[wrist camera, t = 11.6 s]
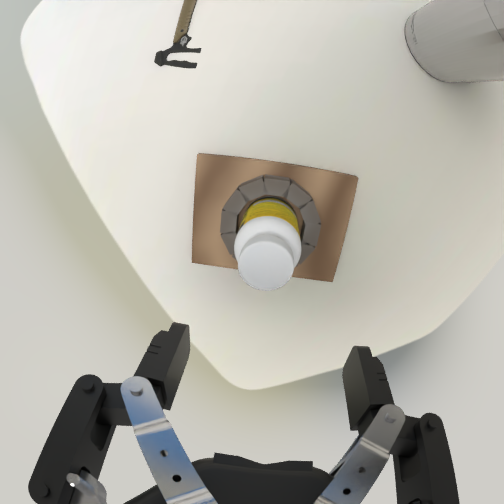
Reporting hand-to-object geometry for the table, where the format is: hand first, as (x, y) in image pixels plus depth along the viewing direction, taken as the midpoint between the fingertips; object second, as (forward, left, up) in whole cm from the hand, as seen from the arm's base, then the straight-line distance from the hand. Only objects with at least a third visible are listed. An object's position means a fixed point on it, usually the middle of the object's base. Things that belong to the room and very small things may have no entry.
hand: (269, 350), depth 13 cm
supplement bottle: (0, 0, -18) cm, 18 cm away
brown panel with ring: (0, 0, -19) cm, 19 cm away
